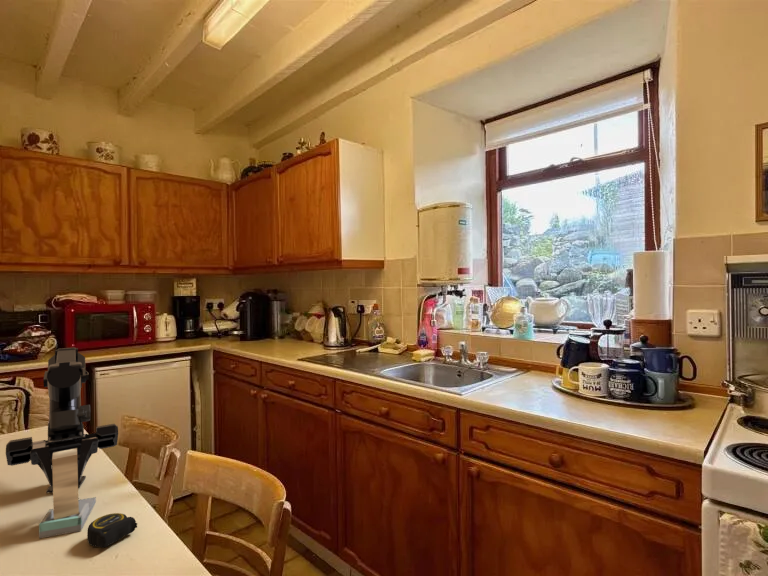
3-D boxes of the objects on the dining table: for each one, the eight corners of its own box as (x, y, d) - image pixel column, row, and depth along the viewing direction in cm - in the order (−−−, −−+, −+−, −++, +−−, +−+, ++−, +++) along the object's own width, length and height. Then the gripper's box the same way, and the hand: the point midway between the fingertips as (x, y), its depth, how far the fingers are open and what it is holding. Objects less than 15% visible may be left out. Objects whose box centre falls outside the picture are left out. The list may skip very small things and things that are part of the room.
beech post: (54, 511, 89) (52, 452, 88) (78, 505, 91) (77, 448, 91) (53, 519, 85) (52, 459, 85) (78, 513, 88) (77, 454, 87)
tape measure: (102, 555, 79) (102, 534, 79) (79, 545, 82) (78, 525, 82) (137, 535, 85) (137, 516, 85) (114, 526, 88) (114, 508, 88)
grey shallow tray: (58, 508, 95) (58, 495, 95) (95, 502, 97) (95, 490, 97) (39, 538, 84) (39, 524, 84) (81, 530, 86) (81, 517, 86)
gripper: (6, 400, 86) (-1, 476, 77) (117, 387, 97) (122, 452, 88) (10, 429, 92) (5, 502, 83) (114, 413, 103) (119, 477, 94)
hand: (65, 482), depth 87 cm, fingers closed on beech post, 4 cm apart
